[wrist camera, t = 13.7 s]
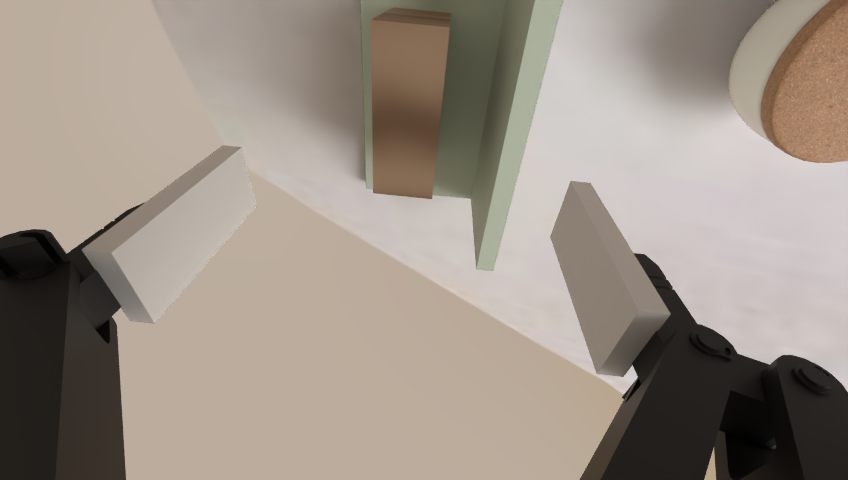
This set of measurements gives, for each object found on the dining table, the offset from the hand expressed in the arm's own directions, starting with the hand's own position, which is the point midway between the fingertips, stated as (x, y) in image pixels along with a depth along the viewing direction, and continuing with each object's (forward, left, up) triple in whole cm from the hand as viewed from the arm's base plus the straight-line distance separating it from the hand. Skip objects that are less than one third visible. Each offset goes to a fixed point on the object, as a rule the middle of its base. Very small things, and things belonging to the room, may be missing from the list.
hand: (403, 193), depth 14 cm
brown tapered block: (0, -1, -16) cm, 16 cm away
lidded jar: (-5, +25, -17) cm, 31 cm away
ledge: (0, 0, -17) cm, 17 cm away
